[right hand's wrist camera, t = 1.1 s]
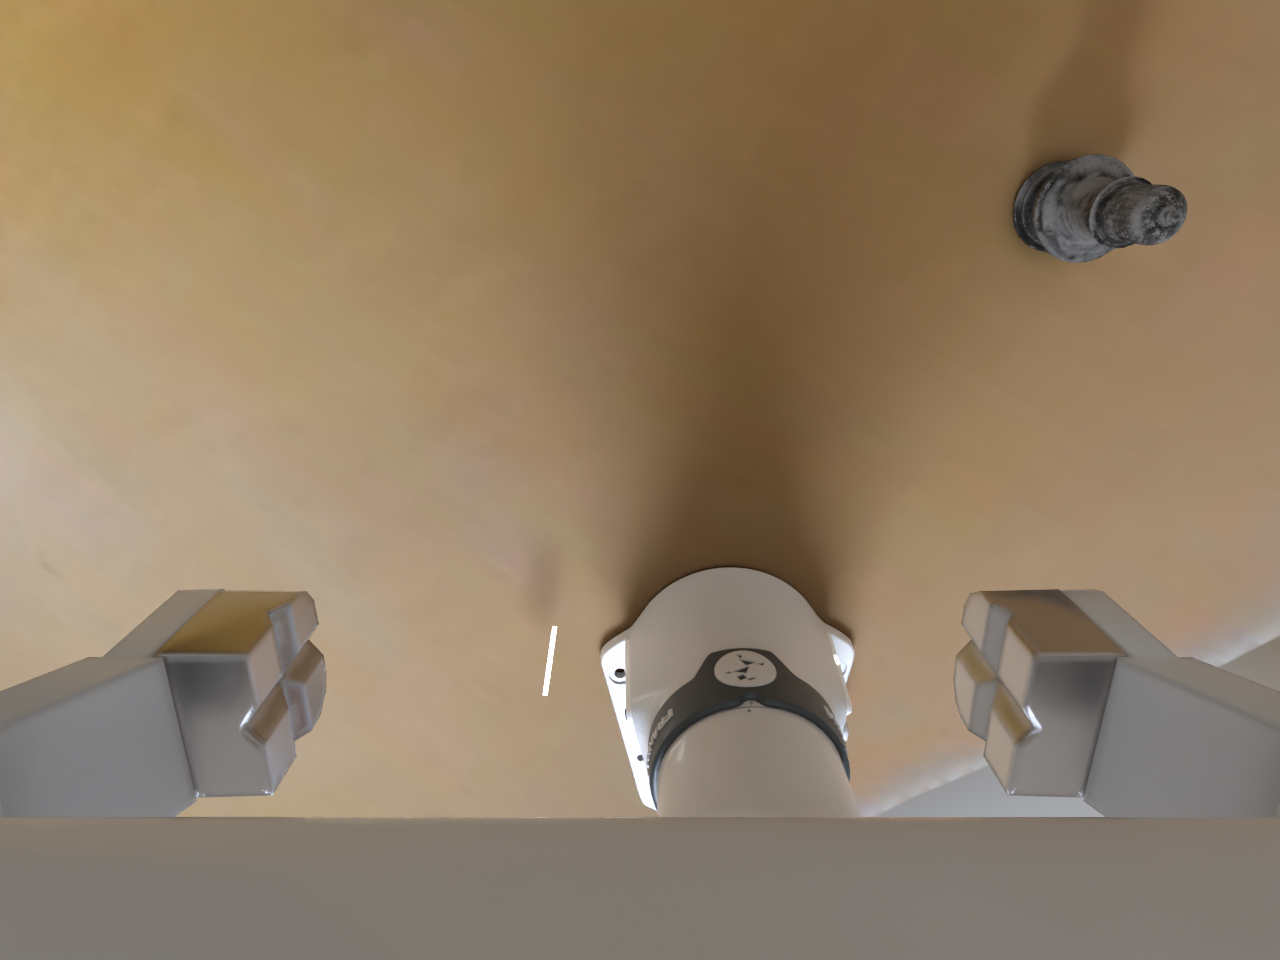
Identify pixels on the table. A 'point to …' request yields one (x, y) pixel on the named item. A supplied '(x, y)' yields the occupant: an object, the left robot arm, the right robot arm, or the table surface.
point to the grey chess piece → (1094, 209)
